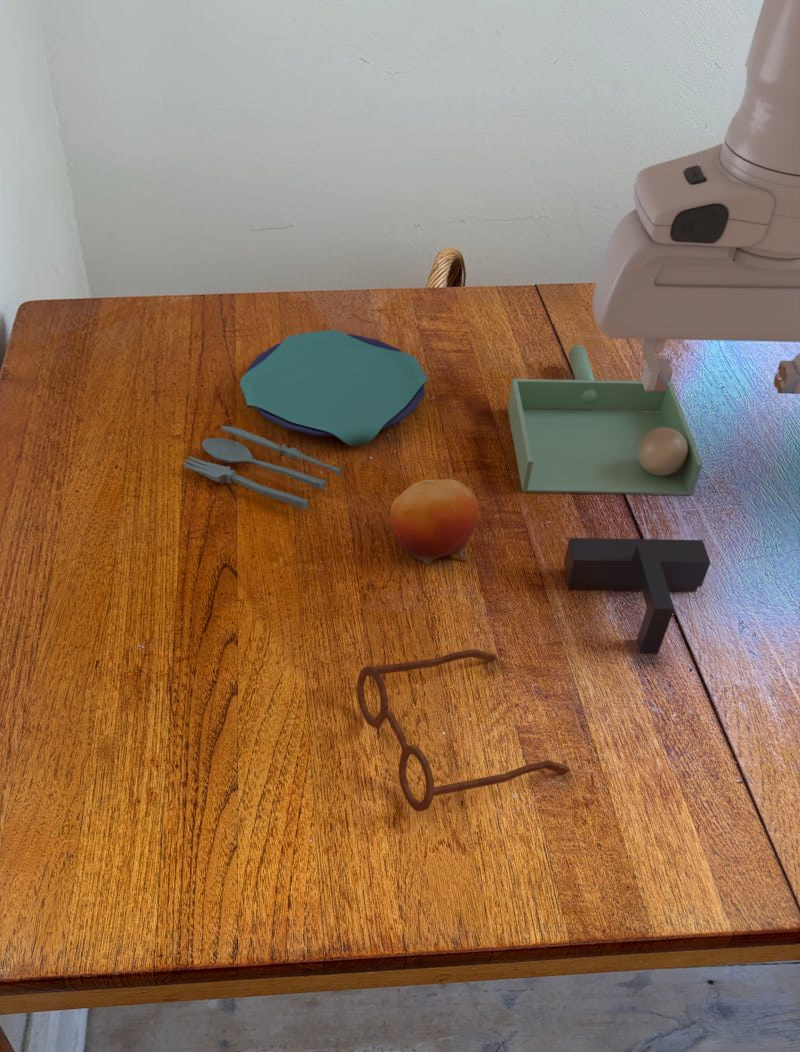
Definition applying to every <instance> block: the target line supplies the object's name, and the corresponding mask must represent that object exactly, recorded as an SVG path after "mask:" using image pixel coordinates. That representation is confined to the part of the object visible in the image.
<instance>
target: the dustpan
mask: <svg viewBox="0 0 800 1052" xmlns="http://www.w3.org/2000/svg"><path fill="white" fill-rule="evenodd" d="M568 358H569V362H570V366H571V370H572V374H573V377H574V379H550V378H549V379H548V378H547V379H545V378H542V379H541V378H539V379H538V378H512V379H511V385H510V391H509V398H508V402H507V414H508V419H509V425H510V430H511V431H510V432H511V436H512V441H513V447H514V453H515V454H514V455H515V457H516V458H515V459H516V464H517V469H518V475H519V481H520V487H521V492H522V493H543V494H544V493H545V494H546V493H547V494H548V493H549V494H550V493H551V494H552V493H553V494H603V495H605V494H607V495H655V496H656V495H658V496H659V495H660V496H663V495H664V496H693V494H694V491H695V488H696V485H697V482H698V480H699V478H700V474H701V471H702V469H703V461H702V459H701V457H700V455H699V454H700V453H699V450H698V449H697V446H696V443H695V440H694V438H693V435H692V432H691V430H690V427H689V424H688V422H687V420H686V416H685V414H684V411H683V409H682V406H681V403H680V401H679V398H678V395H677V392H676V390H675V388H674V387H675V386H674V385H673V382H672V381H669V382H668V385H669V387H668V390H667V391H645V389H644V386H643V383H642V380H605V379H604V380H601V379H597V380H596V379H595V376H594V372H593V369H592V364H591V362H590V358H589V355H588V352H587V349H586V347H584V345H581V344H575V345H573V346H572V347H570V349H569V350H568ZM662 427H667V428H672V429H674V430H676V431H678V432H679V433H681V434H682V436H683V437H684V438H685V440H686V442H687V446H688V455H687V458H686V461H685V463H684V464H683V466H682V467H681V468H680V469H679V470H677V471H676V472H674V473H672V474H670V475H666V476H657V475H653V474H651V473H649V472H647V471H646V470H645V469H644V468H643V467H642V466H641V464H640V462H639V459H638V447H639V444H640V442H641V440H642V438H643V437H644V436H645V435H646V434H647V433H648V432H650V431H652V430H654V429H657V428H662Z"/></svg>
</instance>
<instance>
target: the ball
mask: <svg viewBox="0 0 800 1052" xmlns="http://www.w3.org/2000/svg"><path fill="white" fill-rule="evenodd" d="M687 455H688V446H687V442H686V440H685V438H684V437H683V436H682V434H681V433H679V432H678V431H676V430H674V429H672V428H667V427H662V428H657V429H654V430H652V431H650V432H648V433H647V434H646V435H645V436H644V437H643V438H642V440H641V442H640V444H639V447H638V459H639V462H640V464H641V466H642V467H643V468H644V469H645V470H646V471H647V472H649V473H651V474H653V475H657V476H666V475H670V474H672V473H674V472H676V471H677V470H679V469H680V468H681V467H682V466H683V464H684V463H685V461H686V458H687Z"/></svg>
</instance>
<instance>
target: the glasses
mask: <svg viewBox="0 0 800 1052" xmlns="http://www.w3.org/2000/svg"><path fill="white" fill-rule="evenodd" d="M467 658H468V659H469V658H473V659H478V660H481V661H482V660H483V661H487V662H492V663H493V662H495V660H497V659H498V656H497V654H496V653H492V652H487V651H484V650H479V649H475V648H473V649H467V650H462V651H456V652H455V651H454V652H452V653H448V654H445V655H442V656H438V657H435V658H428V659H420V660H413V661H405V662H399V663H392V664H385V665H384V664H383V665H376V666H372V665H368V666H364V667H363V668H362V669H360V672H359V675H358V676H357V677H358V678H357V682H356V683H357V684H356V696H357V703H358V707H359V709H360V713H361V714H362V717H363V718H364V720H365V722H366V723H367V725H369V726H370V727H371V728H377V727H381V726H382V724H383V723H384V721H386V720H387V721H388V723H389V725H390V727H391V729H392V731H393V733H394V736H396V738H397V740H398V743H399V746H400V748H401V754H400V757H399V762H398V779H399V785H400V787H401V790H402V793H403V795H404V798H405V800H406V801H407V804H409V806H410V807H411V808H412V809H413V810H414V811H416V812H424V811H426V810H428V809H429V807H430V806H431V805H432V802H433V799H434V797H436V796H442V795H446V794H452V793H456V792H462V791H466V790H472V789H477V788H483V787H487V786H493V785H497V784H502V783H507V782H508V781H511V780H513V779H516V778H518V777H521V776H523V775H525V774H530V773H532V772H536V771H540V770H544V769H546V770H548V771H551V772H555V773H559V774H562V775H566V774H567V773H569V772H571V768H570V766H568V765H565V764H563V763H559V762H555V761H552V760H550V759H549V760H544V761H540V762H535V763H530V764H526V765H523V766H521V767H518V768H515V769H513V770H509V771H507V772H505V773H500V774H495V775H489V776H485V777H479V778H473V779H470V780H469V779H468V780H464V781H459V782H453V783H448V784H443V785H438V786H435V781H434V775H433V771H432V768H431V765H430V763H429V760H428V758H427V757H426V755H425V753H424V752H423V751H422V750H421V749H420V747H418V746H416V745H414V744H408V740H407V737H406V735H405V732H404V731H403V729H402V727H401V725H400V723H399V722H398V719H397V717H396V716H395V715H394V713H393V712H392V711H391V710H389V704H390V703H389V698H388V691H387V688H386V684H385V681H384V679H383V677H382V675H385V674H391V673H400V672H406V671H413V670H419V669H426V668H434V667H438V666H441V665H445V664H447V663H450V662H454V661H458V660H463V659H467ZM367 677H372V679H373V680H374V682H375V684H376V686H377V689H378V692H379V698H380V708H379V712H378V714H377V716H376V718H374V716H372V714H371V713H370V711H369V709H368V705H367V703H366V699H365V684H366V679H367ZM411 755H412V756H414V757H415V758H416V760H417V761H418V762H419V764H420V767H421V769H422V771H423V775H424V780H425V793H424V797H423V799H422V801H421V802H420V801H418V799H416V797H415V796H414V795H413V792H412V790H411V788H410V786H409V782H408V778H407V765H408V761H409V758H410V756H411Z"/></svg>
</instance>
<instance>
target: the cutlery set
mask: <svg viewBox="0 0 800 1052" xmlns="http://www.w3.org/2000/svg"><path fill="white" fill-rule="evenodd" d="M429 380H430V379H429V378H428V377H427V374H426V372H424V369H423V368H422V367H421V364H420V363H419V361H418V359H417V358H416V357H415V356H414V355H412V354H410V353H408V352H403V351H402V349H400V348H397V347H395V346H392V345H391V344H388V343H385V342H384V341H381V340H379V339H374V338H370V337H365V336H361V335H356V334H349V333H347V334H346V333H344V332H342V331H339V330H335V329H329V330H319V331H311V332H310V331H309V332H304V333H298V334H292V335H289V336H287V337H286V338H285V339H284V340H283V341H282V342H279V343H277V344H275V345H273V346H272V347H270V348H268V349H266V350H265V351H263V352H262V353H260V354H259V355H258V356H257V357H256V358H255V359H254V360H253V362H252V363H251V364H250V365H249V367H248V368H247V369H246V372H245V374H243V376H242V377H241V378H240V380H239V381H240V382H239V387H240V389H241V392H242V394H243V397H244V399H245V403H246V407H247V408H251V407H253V408H254V409H255V410H256V411H257V412H258V413H260V414H261V416H262V417H263V418H264V419H267V420H269V421H270V422H273V423H275V424H277V425H279V426H281V427H283V428H285V429H287V430H290V431H294V432H298V433H302V434H307V435H310V436H317V437H335V438H336V437H337V438H338V439H339V440H341V441H342V442H344V443H345V444H347V445H348V446H350V447H353V448H359V447H362V446H364V445H366V444H368V443H370V442H371V441H372V440H374V439H375V438H376V436H377V435H378V434H379V432H380V431H381V430H384V429H387V428H390V427H392V426H395V425H397V424H399V423H400V422H401V421H403V420H404V419H406V418H407V417H408V416H410V415H411V414H413V413H414V412H415V411H416V409H417V407H418V406H419V404H420V402H421V401H422V399H423V398H424V395H425V383H426V382H428V381H429ZM220 431H222V432H224V433H227V434H229V435H232V436H235V437H238V438H240V439H243V440H246V441H249V442H251V443H254V444H256V445H259V446H262V447H264V448H267V449H270V450H272V451H275V452H278V453H279V457H282V456H283V455H286V456H287V457H288V458H289V459H300V460H302V461H306V462H308V463H311V464H314V465H317V466H320V467H322V468H325V469H326V470H329V471H332V472H334V473H335V474H337V476H338V477H339V476H340V475H342V473H343V467H337V466H333V465H331V464H327V463H324V462H321V461H319V460H318V459H316V458H313V457H311V456H308V455H306V454H303V453H302V452H301V451H299V449H297V448H296V447H288V446H287V445H286V443H283V444H282V445H280V444H277V443H276V442H273V441H271V440H269V439H267V438H264V437H262V436H260V435H257V434H254V433H251V432H249V431H247V430H244V429H240V428H237V427H235V426H224V425H223V426H221V427H220ZM201 446H202V447H203V449H204V451H205V452H206V453H207V454H208V455H209V456H211V457H212V458H214V459H216V460H218V461H219V462H223V463H227V464H233V465H234V464H243V463H245V464H251V465H253V466H254V465H255V466H258V467H261V468H264V469H266V470H269V471H272V472H275V473H278V474H280V475H281V474H282V475H285V476H287V477H289V478H292V479H294V480H296V481H299V482H302V483H304V484H306V485H309V486H311V487H314V488H315V489H318V490H320V491H323V490H324V489H325V487H326V486H327V480H324V479H321V478H318V477H314V476H312V475H309V474H306V473H302V472H300V471H297V470H294V469H290V468H288V467H283V466H280V465H275V464H272V463H269V462H265V461H261V460H258V459H257V460H256V459H254V458H253V455H252V453H251V451H250V450H249V448H248V447H247V446H245V445H243V444H242V443H240V442H238V441H235V440H233V439H232V440H231V439H227V438H223V437H215V438H211V437H209V438H206V439H204V441H203V442H201ZM181 466H184V467H185V468H186V469H188V470H191V471H192V472H193V471H194V472H196V473H198V474H200V475H203V476H204V477H206V478H208V479H210V480H212V481H214V482H217V483H222V484H231V483H233V482H234V483H237V484H239V485H241V486H243V487H245V488H246V489H249V490H251V491H253V492H255V493H258V494H260V495H263V496H266V497H268V498H271V499H274V500H277V501H279V502H283V503H286V504H289V505H291V506H294V507H296V508H297V509H300V510H301V511H306V509H308V507H309V500H308V499H306V498H302V497H299V496H297V495H294V494H292V493H289V492H286V491H285V492H284V491H280V490H277V489H274V488H271V487H268V486H265V485H262V484H260V483H257V482H255V481H253V480H250V479H249V478H247V477H244V476H241V475H240V474H237V473H236V470H234V469H232V470H231V466H230V465H228V466H225V465H221V464H217V463H213V462H208V461H205V460H202V459H199V458H195V457H193V456H191V455H190V456H189V457H188V459H187V458H186V459H185V462H184V461H183V462H182V463H181Z"/></svg>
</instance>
